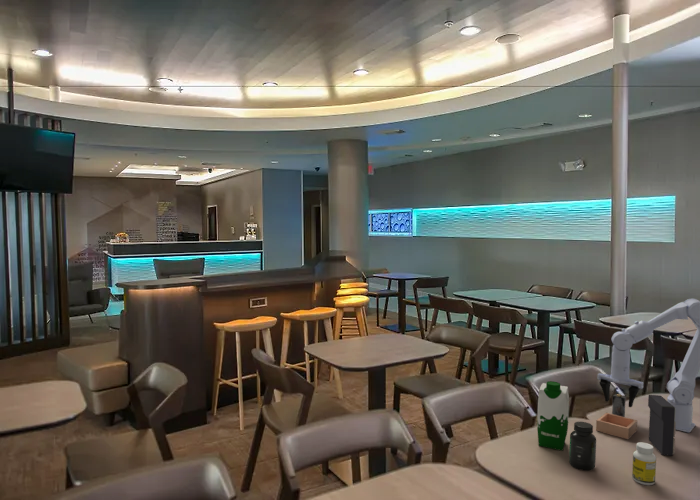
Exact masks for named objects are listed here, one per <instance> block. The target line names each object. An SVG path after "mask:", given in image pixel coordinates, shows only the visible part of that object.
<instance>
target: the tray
mask: <svg viewBox="0 0 700 500" xmlns="http://www.w3.org/2000/svg"><path fill="white" fill-rule="evenodd" d="M595 421H596V423H595V425H596V426H595V431H598V432H601V433H603V434H607V435H611V436H615V437H619V438H622V439H626V440H629V439H630V438H631V437H632V436H633V435H634V434H635V433H636V432H637V431H638V420H637V419H634V418H629V417H626V416H625V417H622V416H618V415H614V414H612V413H609V412H605V413H604V414H603V415H602V416H600V417H599V418H597V419H596V420H595Z"/></svg>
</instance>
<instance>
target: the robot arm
mask: <svg viewBox="0 0 700 500" xmlns="http://www.w3.org/2000/svg"><path fill="white" fill-rule="evenodd" d="M689 319H690V320H691V321H692V323H693V325H694V326H695V328H696V331H695V333H694V335H693V338H692V339H691V343H690V344H689V347H688V349H687V351H686V354H685V356H684V358H683V361H682V363H681V365H680V368H679V369H678V371H677V372H675V374H674V376H673V377H671V379H670V380H669V381H668V382H667V383H666V389H667V391H668V392H669V395H668V396H667V399H666V400H667V401H668V402H669V403H670V404H671V405H673V406H674V407H675V409H676V411H675V420H674V421H675V422H676V426H675V431H676V430H677V431H681V432H684V433H688V434H689V433H691V432H692V430H693V429H694V428H695V427H696V424H697V423H693V411H694V407H693V401H694V399H695V393H694V391H695V388H696V379H697V377H698V374H699V371H700V300H699V299H697V298H688V299H686V300H684V301H681V302H678V303H677V304H675V305H673V306H671V307H670V308H667V309H666V310H664V311H663V312H661V313H659V314H658V315H656V316H655V317H652V318H651V319H650V320H642V319H641V320H640V321H639V320H636V321H633V323H634V324H632V325H630V326H628V327H626V328H624V327H623V328H621V331H616V332H614V333H613V334H612V336H611V338H610V339H611V342H612V344H613V345H612V347H611V348H612V351H611V367H610V374H604V373H600V372H598V373H597V379H596V380H597V381H599V386H600V387H601V390H602V393H603V396H604V400H605V402H606V403H608V402H609V401H610V395H611V394H610V392H611V391H610V390H611V389H610V388H611V384H612V383H616V384H620V385H624V386H629V387H628V408H632V407H633V404H634V402H635V398H636V396H637V394H639V393H638V392H639V391H640V390H643V388H644V382H643V381H639V380H636V379H633V378H630V366H631V352H630V351H631V348H632V347H633V344H637V343H639V342H642V340H645V339H646V338H648V337H650V336H652V335H653V333H654V330H655V329H656V330H657V329H658V328H660V327H662V326H664V325H667V324H668V323H671V322H673V321H675V320H689Z"/></svg>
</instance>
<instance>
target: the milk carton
mask: <svg viewBox="0 0 700 500" xmlns="http://www.w3.org/2000/svg"><path fill="white" fill-rule="evenodd" d="M569 401H570V395H569V386H565V385H561V383H560V382H559V381H546V383H545V382H542V383H541V385H540V387H539V390H538V399H537V424H536V425H537V426H536V427H537V429H536V430H537V440H538V442H537V443H538V447H543V448H548V449H553V450H557V451H563V450H564V448H565V442H566V440H567V435H568V429H569V408H570V405H569V404H570V403H569Z"/></svg>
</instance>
